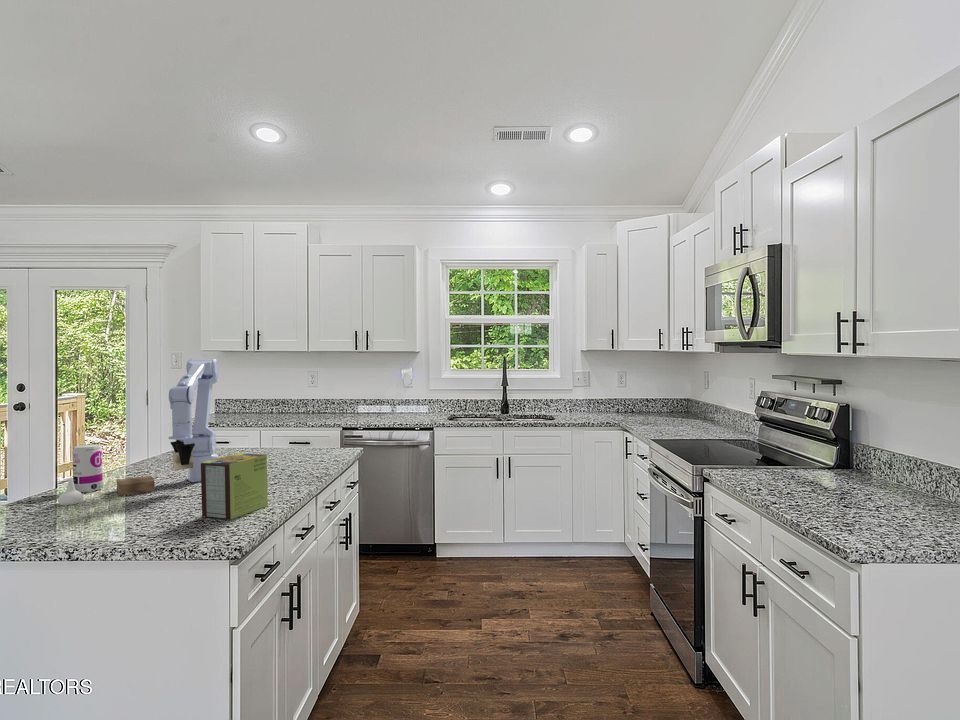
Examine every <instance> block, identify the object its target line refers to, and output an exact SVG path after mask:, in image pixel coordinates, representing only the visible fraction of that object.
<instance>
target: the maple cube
mask: <svg viewBox="0 0 960 720" xmlns="http://www.w3.org/2000/svg"><path fill="white" fill-rule="evenodd" d="M189 468H193V453H192V452H191V456H190V461H189V464H188V465H181V462H180V457H179V452H175V451H174V452H172V469H174V470H175V471H180V470H181V471H182V470H187V469H188V470H189Z"/></svg>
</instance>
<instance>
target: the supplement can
mask: <svg viewBox="0 0 960 720" xmlns="http://www.w3.org/2000/svg"><path fill="white" fill-rule="evenodd" d="M103 474H104V473H103V448H102V447H101V445H100V444H96V443H93V444H92V443H90V444H82V445H75V446H74V448H73V450H72V478H73V482H74V487H75V489H76V490H77V491H79V492H88V493H91V492H90V491H94V492H96V491H95V490H98V491H100V490H102V488H103V486H104V481H103ZM99 489H100V490H99Z"/></svg>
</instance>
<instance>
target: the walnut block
mask: <svg viewBox="0 0 960 720" xmlns="http://www.w3.org/2000/svg"><path fill="white" fill-rule="evenodd" d="M155 487H156V486H155V479H154V478H153V477H152V475H146V476H145V475H143V476H137V477H127V478H120V479H116V492H117V494H118V497H124V495H127V496H131V495H130V494H134V495H137V494H136V493H141V494H145V493H144V492H149V493H153V492H152V491H155V490H156V489H155Z"/></svg>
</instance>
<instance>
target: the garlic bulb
mask: <svg viewBox="0 0 960 720" xmlns="http://www.w3.org/2000/svg"><path fill="white" fill-rule="evenodd" d="M67 481H68V482H67V487H66V490H65V491H64V492H62V493H60V495H59V497H58V498H57V499H58V500H57V503H58V505H60V506H72V505H73V506H74V505H77V503H78V504H81V503H82V502H83V500H84V495H83V493H81V492H79V491H77V490H76V489H75V487H74V482H73V477H68V479H67Z"/></svg>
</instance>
